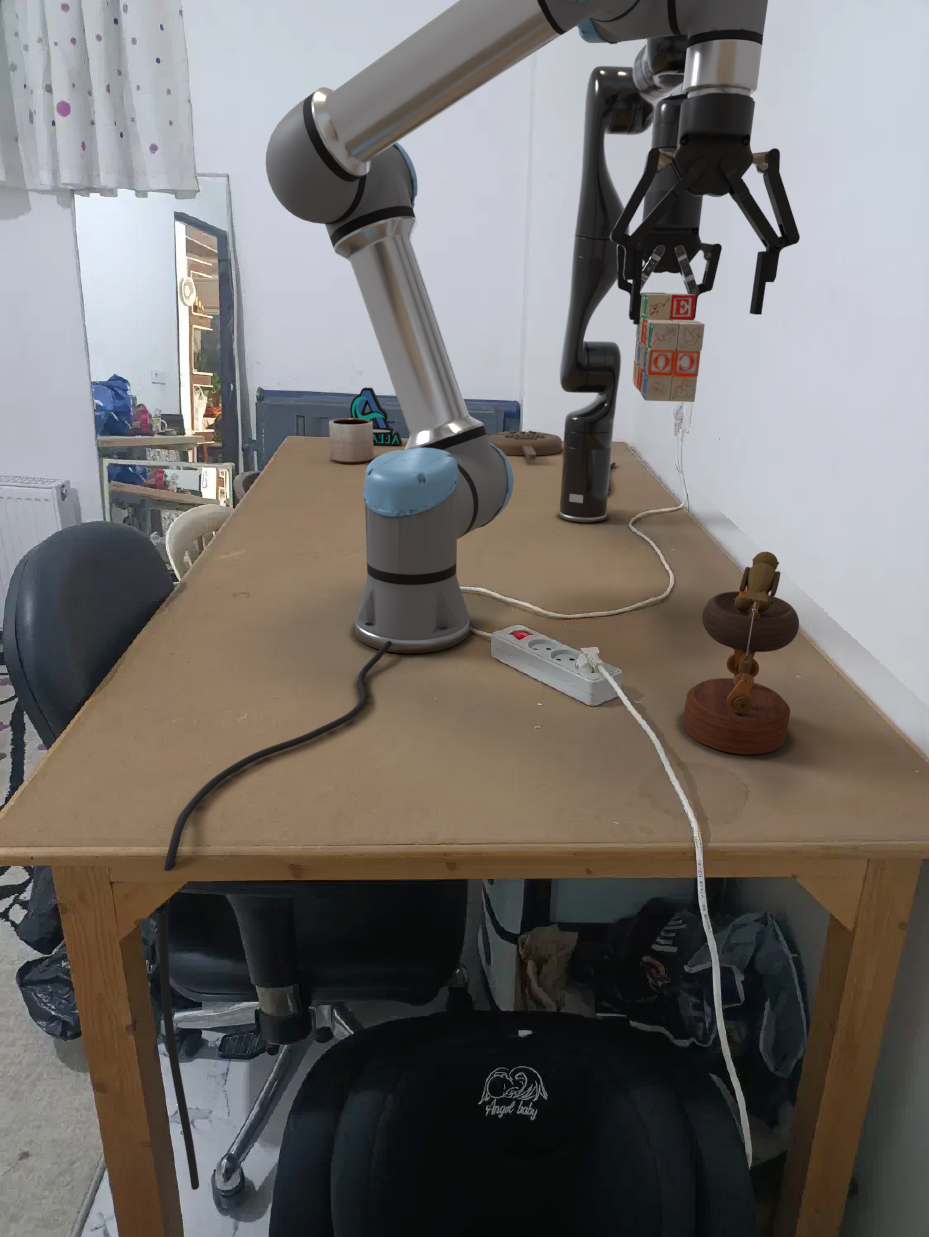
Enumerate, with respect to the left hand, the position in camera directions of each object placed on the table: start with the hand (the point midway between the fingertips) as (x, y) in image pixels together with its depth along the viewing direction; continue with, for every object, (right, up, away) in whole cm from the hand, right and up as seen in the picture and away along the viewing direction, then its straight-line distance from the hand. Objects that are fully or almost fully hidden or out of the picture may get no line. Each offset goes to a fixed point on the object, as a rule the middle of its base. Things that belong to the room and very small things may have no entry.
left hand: (694, 313), depth 96 cm
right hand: (+1, +6, +21) cm, 22 cm away
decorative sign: (-53, +13, +138) cm, 148 cm away
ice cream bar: (-10, +9, +128) cm, 129 cm away
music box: (+2, -46, -6) cm, 47 cm away
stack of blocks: (0, -4, +17) cm, 18 cm away
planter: (-55, +5, +118) cm, 130 cm away
